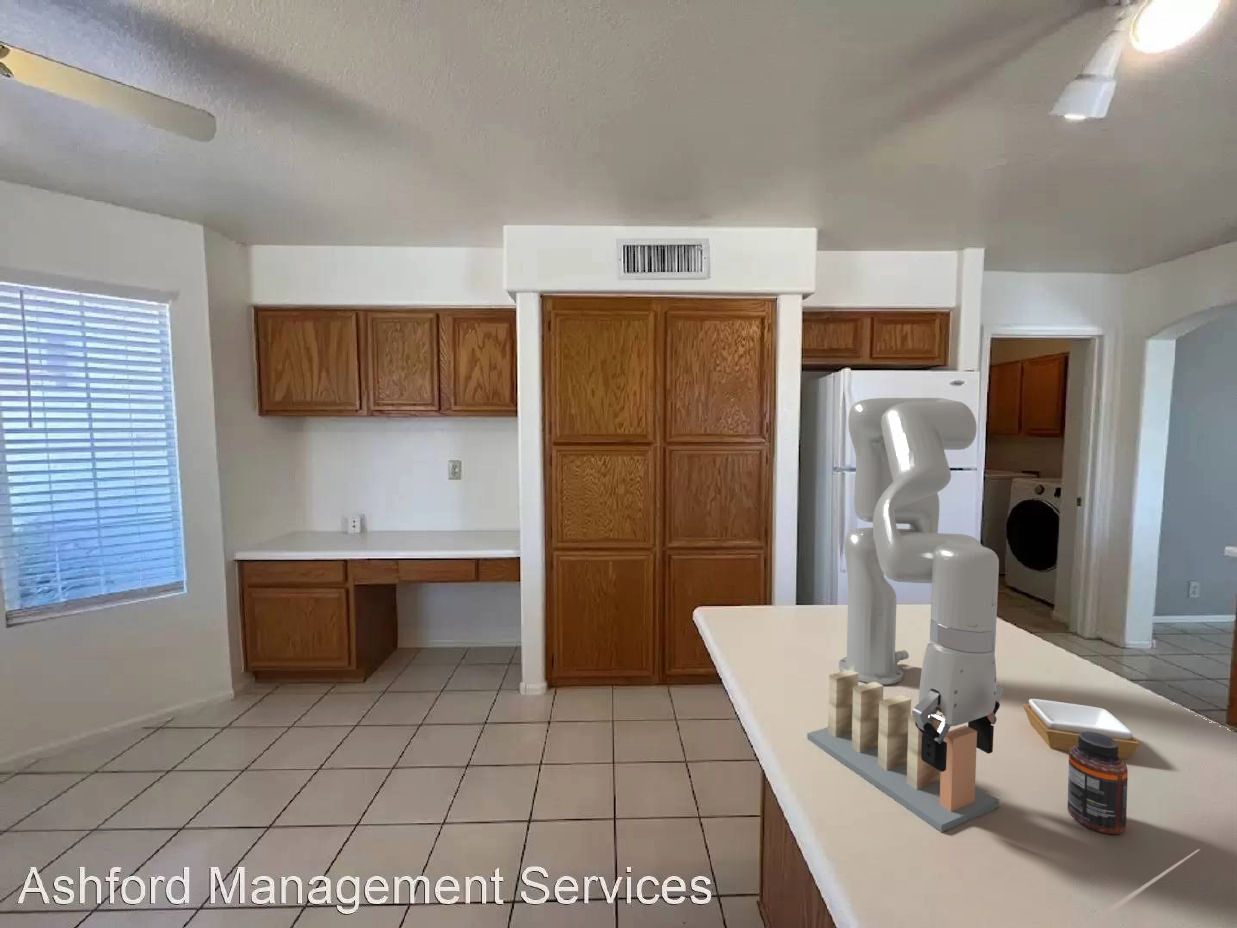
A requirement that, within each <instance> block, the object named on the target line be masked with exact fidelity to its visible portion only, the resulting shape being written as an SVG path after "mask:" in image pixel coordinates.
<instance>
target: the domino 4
mask: <svg viewBox="0 0 1237 928" xmlns="http://www.w3.org/2000/svg"><path fill="white" fill-rule="evenodd" d="M936 714H937V715H939V716H941V717H943V714H942V713H941V712H939V711H937V713H936ZM932 725H933V727H934V728H935V729H936V730H938V728H939V726H940V725H941V723H940V722H938V721H936V720H934V721H933V723H932ZM921 747H922V734H921V733H920V732H919V729H918V728H917V727H916V725H915V720H914V717H913V714H911V716H909V718H908V753H907V784H909V785H910V786H912V787H913V788H915V789H916V790H917V789H920V788H922V787H925V786H927V785H930V784H933V783H935V782H938V781H940V771H939V770H937V769H936V768H934V767H932V766H931V765H929V764H927V763H926V762H924V761H923V760H922V759H921Z"/></svg>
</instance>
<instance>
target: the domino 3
mask: <svg viewBox="0 0 1237 928" xmlns="http://www.w3.org/2000/svg"><path fill="white" fill-rule="evenodd" d="M911 715H912V699H911V698H910V697H908V696H905V695H903V694H900V695H896V696H892V697H889V698H885V699H883V700H881V701H879V731H878V765H880V766H881V767H883V768H884V769H886V770H888V769H891V768H894V767H897V766H900V765H902V764H905V763H907V753H908V718H909V716H911Z"/></svg>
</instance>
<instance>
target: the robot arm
mask: <svg viewBox="0 0 1237 928" xmlns="http://www.w3.org/2000/svg"><path fill="white" fill-rule="evenodd" d="M847 421H848V432H849V436H850V439H851V442H852V445H853V449H854V453H855V477H854V495H853V496H854V500H853V501H854V504H853V505H854V512H855V514H856V517H857V518H858V519H859V520H861V521H863V522H867V523H872V527H858V528H856V529H855V528H854V529H852V530H851V531H850V532H848V534H847V535H846V537H845V540H844V555H845V556H844V557H845V561H846V569H847V618H846V619H847V623H846V625H847V626H846V627H847V629H846V656H845V657H843V658H841V659H840V660H839V661H838V669H839V670H840V672H844V671H848V670H853V671H855V672H857V673H858V682H862V683H865V684H868V683H872V682H877V683H879V684H881V685H883V686H886V685H895V684H897V683H900V682H901V681H902V680H903V677H904V673H903V670H902V669H901V668H900V667H899V666H898V663H899V662H901V661H904V660H908V659H909V653H908V651H906V650H905V649H903V650H902V649H901V650H899V651H896V636H897V635H896V634H897V633H896V630H897V594H896V593H897V592H896V590H895V589H894V587H893V586H892V585H891V584H890V583H889V581H888V580H887V579H890V580H892V581H894V582H897V583H907V584H908V583H911V584H912V583H913V584H916V583H917V584H930V585H931V595H930V596H931V597H930V598H931V601H930V603H931V604H930V606H931V607H930V625H929V626H930V628H929V629H930V631H929V642H930V643H927V645H926V648H925V652H924V655H923V661H922V665H921V666H922V667H921V673H920V680H919V681H920V682H919V689H918V690H919V691H918V703H917V704H916V705H915V706H914V707H913V709H911V715H913V717H914V720H915V725H916V727H917V728H918V729H919V732H920V733H921V734H922V747H921V759H922V760H923V761H924V762H926V763H927V764H929V765H931V766H932V767H934V768H936V769H937V770H939V771H941V772H943V771H946V759H947V743H946V742H944V741H943V740H944V738H945V736H946V734H947V733H948V731H950V728H951V727H956V726H959V725H963V724H967V726H968V727H970V728H972V729H974V730H976V731H977V747H976V749H979V751H980V750H981V751H982V752H984V753H986V754H989V755H990V754H991V753H993V751H994V729H995V728H994V727H995V724H996V723H997V716H996V714H997V712H998V710H999V709H1000V706H1001V705H1000V701H1001V698H1002V695H1003V692H1004V688H1003V686H1000V685H998V684H997V666H996V655H995V654H996V643H997V642H996V641H997V637H996V636H997V618H998V617H997V615H998V613H997V612H998V593H999V575H1000V574H999V573H1000V572H999V570H1000V569H999V568H1000V565H999V564H1000V559H999V557H998V555H997V554H996V552H995V551H994V550H992V549H991V548H989V547H986V546H983V544H982V543H981V542H980V541H979V540H978V539H976V538H975V537H973V536H971V535H968V534H963V533H962V534H961V533H940V532H939V522H940V521H939V519H940V498H939V497H940V496H939V492H940V491H943V489H945V488H946V487H947V486H948V484H949V483H950V481H951V478H952V472H951V469H950V466H949V462H948V458H947V457H946V453H945V451H946V450H948V451H950V450H951V451H954V450H955V451H959V450H960V451H961V450H966V449H968V448H969V447H970V446H971V445H972V444H973V443H974V441H975V439H976V435H977V427H978V426H977V422H976V418H975V414H974V413H973V411H972V410H971V408H970V407H969V406H968V405H966V404H965V403H964V402H962V401H958V400H952V399H947V398H941V397H877V398H868V399H862V400H859V401H856V402H855V403H854V404H853V405H852V406H851V407H850V410H849V413H848V420H847ZM897 524H898V525H909V528H898V527H897ZM885 577H886V578H887V579H886V578H885ZM937 712H939V713H941V714H942V717H941V716H939V715H937V714H936V713H937ZM943 716H944V717H943ZM934 720H936V721H938V722H940V723H941V725H940V726H939V728H938V730H936V729H935V728H934V727H933V725H932V723H933V721H934Z"/></svg>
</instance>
